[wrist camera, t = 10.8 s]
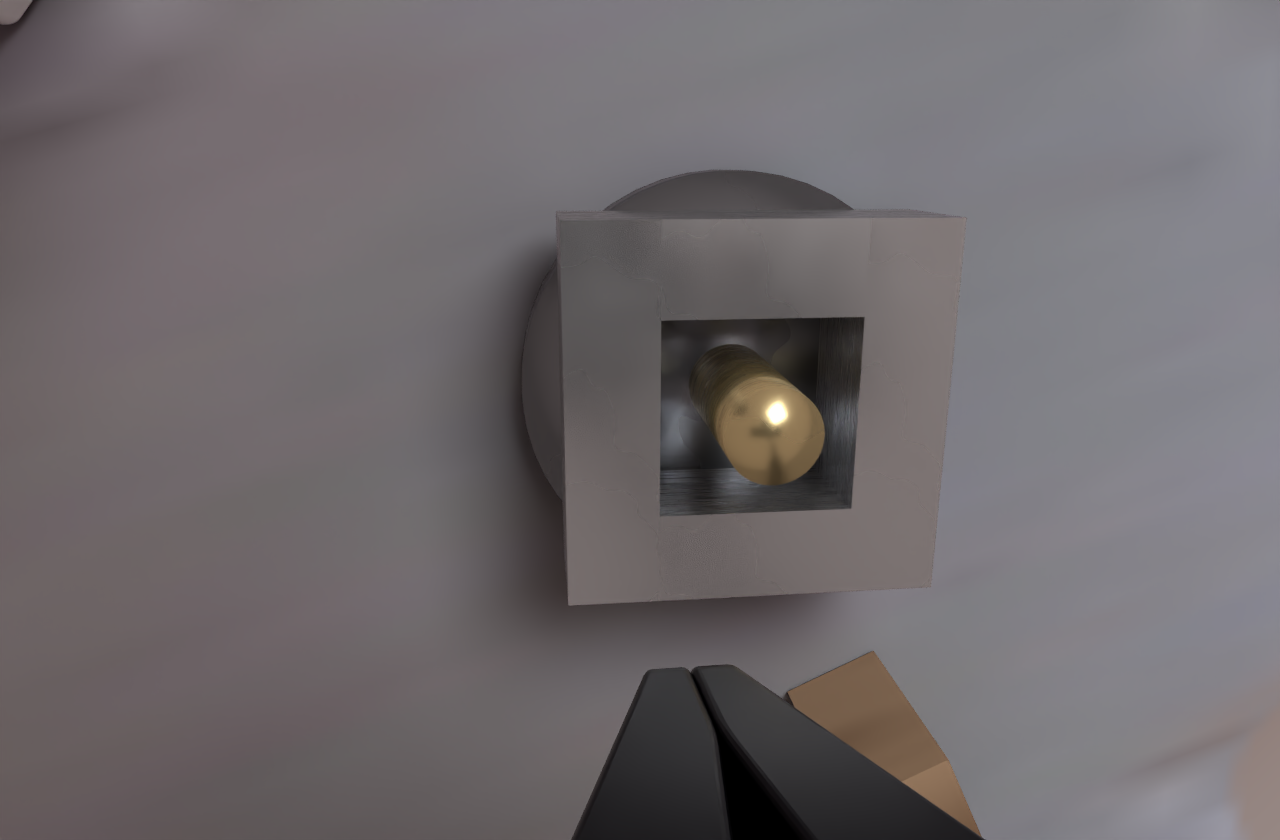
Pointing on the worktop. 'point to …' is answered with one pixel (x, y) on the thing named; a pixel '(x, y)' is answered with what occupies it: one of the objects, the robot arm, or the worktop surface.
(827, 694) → the stand
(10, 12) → the jar
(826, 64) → the worktop surface
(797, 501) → the square frame block
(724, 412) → the hub
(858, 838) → the robot arm
